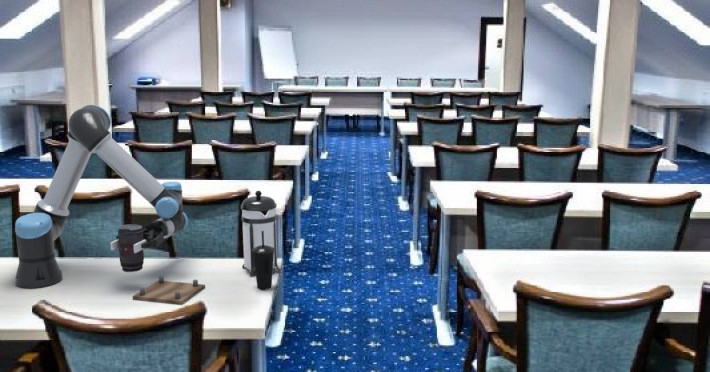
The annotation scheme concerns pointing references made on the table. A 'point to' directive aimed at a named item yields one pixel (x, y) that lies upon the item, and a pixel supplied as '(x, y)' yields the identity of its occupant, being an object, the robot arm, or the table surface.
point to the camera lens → (130, 247)
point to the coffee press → (258, 227)
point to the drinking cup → (263, 265)
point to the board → (169, 291)
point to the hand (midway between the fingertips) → (123, 247)
